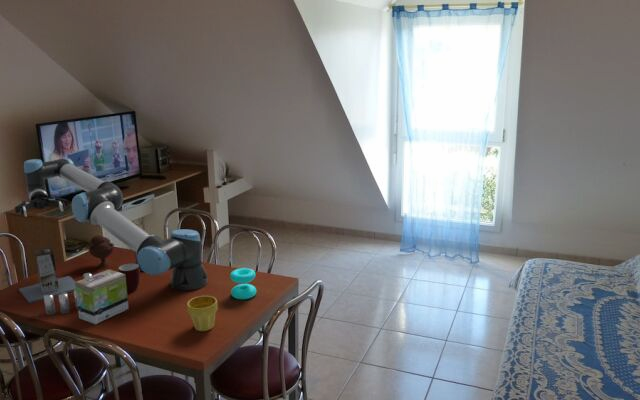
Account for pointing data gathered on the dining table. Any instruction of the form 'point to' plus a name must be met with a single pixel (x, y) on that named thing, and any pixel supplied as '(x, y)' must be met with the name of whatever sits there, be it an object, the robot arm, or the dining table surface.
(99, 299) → the tea box
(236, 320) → the dining table surface
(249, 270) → the donuts
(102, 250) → the ice cream bowl
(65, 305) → the posts
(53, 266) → the coffee box
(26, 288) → the felt mat
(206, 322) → the plant pot
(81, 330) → the dining table surface
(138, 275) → the mug
